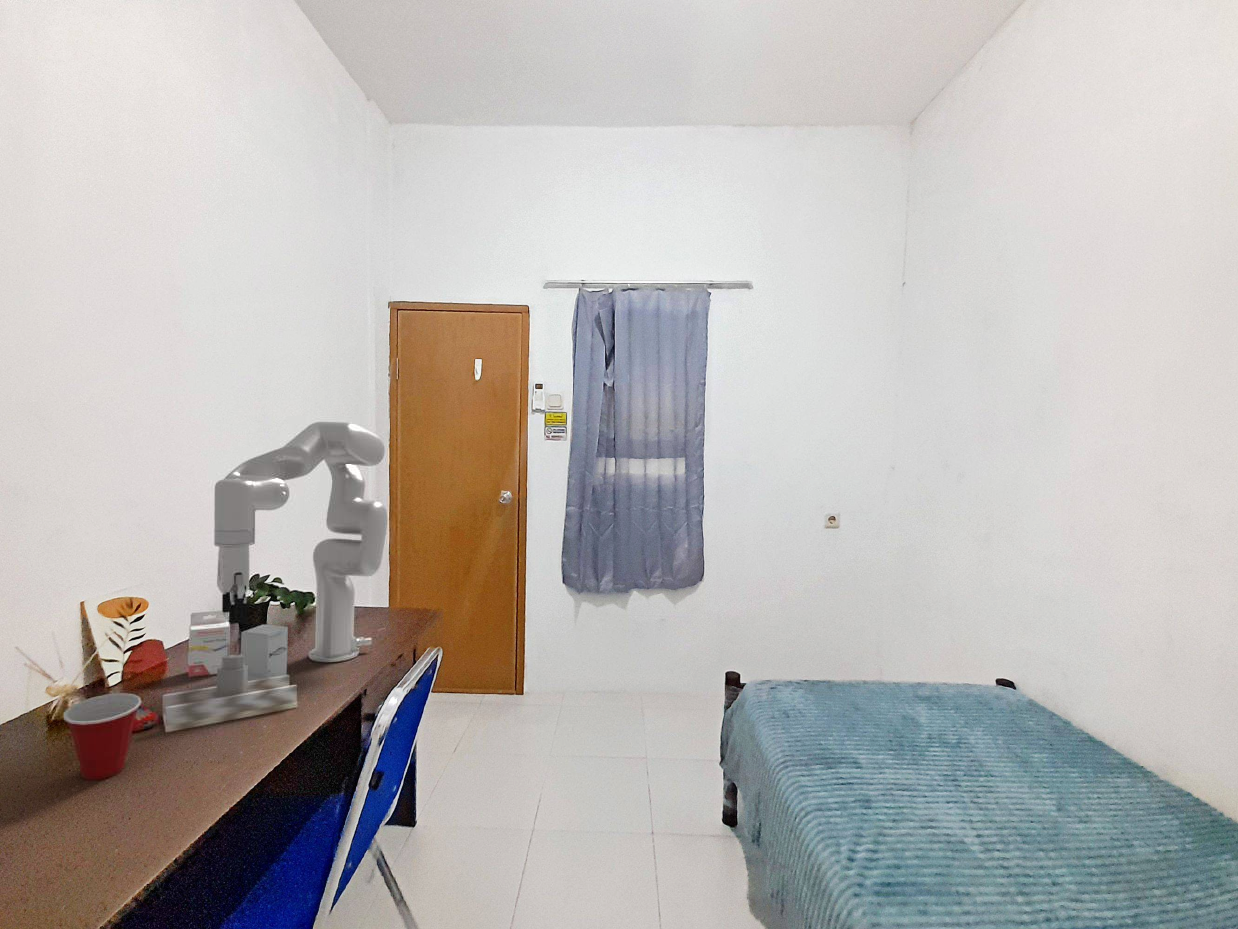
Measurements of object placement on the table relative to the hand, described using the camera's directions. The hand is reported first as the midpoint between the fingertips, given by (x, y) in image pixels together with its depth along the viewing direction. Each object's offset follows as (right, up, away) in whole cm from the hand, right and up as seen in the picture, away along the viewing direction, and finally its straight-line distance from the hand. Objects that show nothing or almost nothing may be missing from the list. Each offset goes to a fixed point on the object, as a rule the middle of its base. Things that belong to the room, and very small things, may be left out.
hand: (234, 616), depth 145 cm
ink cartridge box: (-19, -19, +23) cm, 35 cm away
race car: (-17, -20, -7) cm, 28 cm away
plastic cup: (-7, -21, -27) cm, 35 cm away
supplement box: (-3, -20, +19) cm, 27 cm away
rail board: (-1, -20, 0) cm, 20 cm away
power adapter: (-1, -18, +1) cm, 18 cm away
